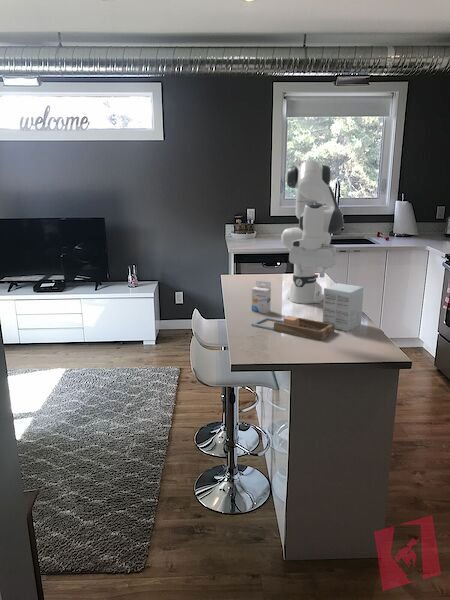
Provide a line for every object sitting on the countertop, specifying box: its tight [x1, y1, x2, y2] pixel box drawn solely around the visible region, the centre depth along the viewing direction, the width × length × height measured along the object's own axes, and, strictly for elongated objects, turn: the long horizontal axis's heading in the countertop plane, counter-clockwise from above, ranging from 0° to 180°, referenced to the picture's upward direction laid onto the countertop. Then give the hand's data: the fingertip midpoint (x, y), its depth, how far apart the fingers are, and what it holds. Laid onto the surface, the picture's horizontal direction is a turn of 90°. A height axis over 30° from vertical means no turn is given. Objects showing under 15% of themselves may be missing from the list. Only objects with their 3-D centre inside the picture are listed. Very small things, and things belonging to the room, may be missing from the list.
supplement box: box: [322, 282, 364, 332], centre depth 216 cm, size 13×13×18 cm
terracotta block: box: [283, 315, 300, 327], centre depth 213 cm, size 5×5×5 cm
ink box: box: [251, 280, 272, 314], centre depth 239 cm, size 8×5×15 cm, turn 60°
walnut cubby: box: [273, 315, 335, 341], centre depth 210 cm, size 13×22×4 cm, turn 53°
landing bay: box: [251, 316, 284, 331], centre depth 220 cm, size 13×12×1 cm
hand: (311, 275), depth 202 cm, fingers open, 8 cm apart
